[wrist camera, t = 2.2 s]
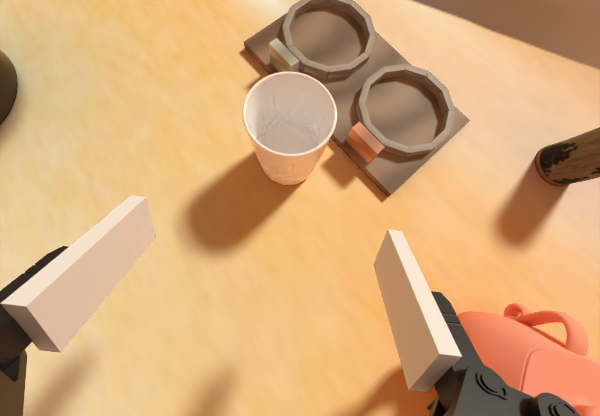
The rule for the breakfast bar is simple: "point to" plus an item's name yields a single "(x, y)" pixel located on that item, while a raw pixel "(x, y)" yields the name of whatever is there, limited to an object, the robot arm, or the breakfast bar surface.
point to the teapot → (537, 355)
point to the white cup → (289, 124)
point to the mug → (570, 159)
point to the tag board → (363, 87)
